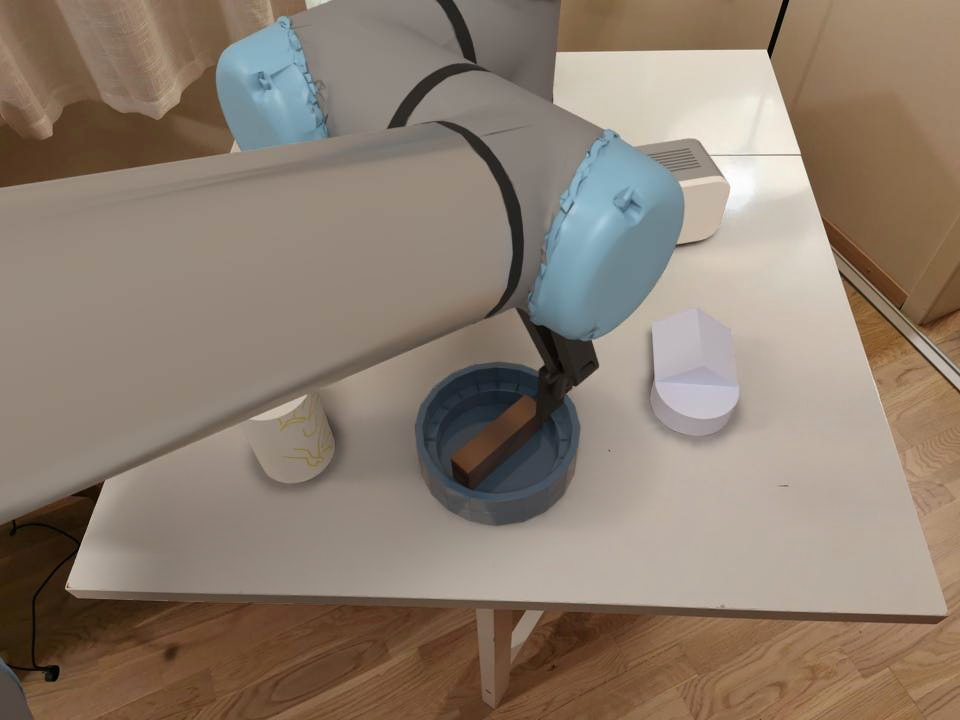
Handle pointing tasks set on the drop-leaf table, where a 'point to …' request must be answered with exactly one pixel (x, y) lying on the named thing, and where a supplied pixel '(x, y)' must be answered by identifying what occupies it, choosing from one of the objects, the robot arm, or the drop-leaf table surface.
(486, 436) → the stick
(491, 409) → the bowl
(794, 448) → the drop-leaf table surface
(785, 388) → the drop-leaf table surface
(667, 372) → the wedge on round base
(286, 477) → the white patterned canister
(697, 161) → the alarm clock
